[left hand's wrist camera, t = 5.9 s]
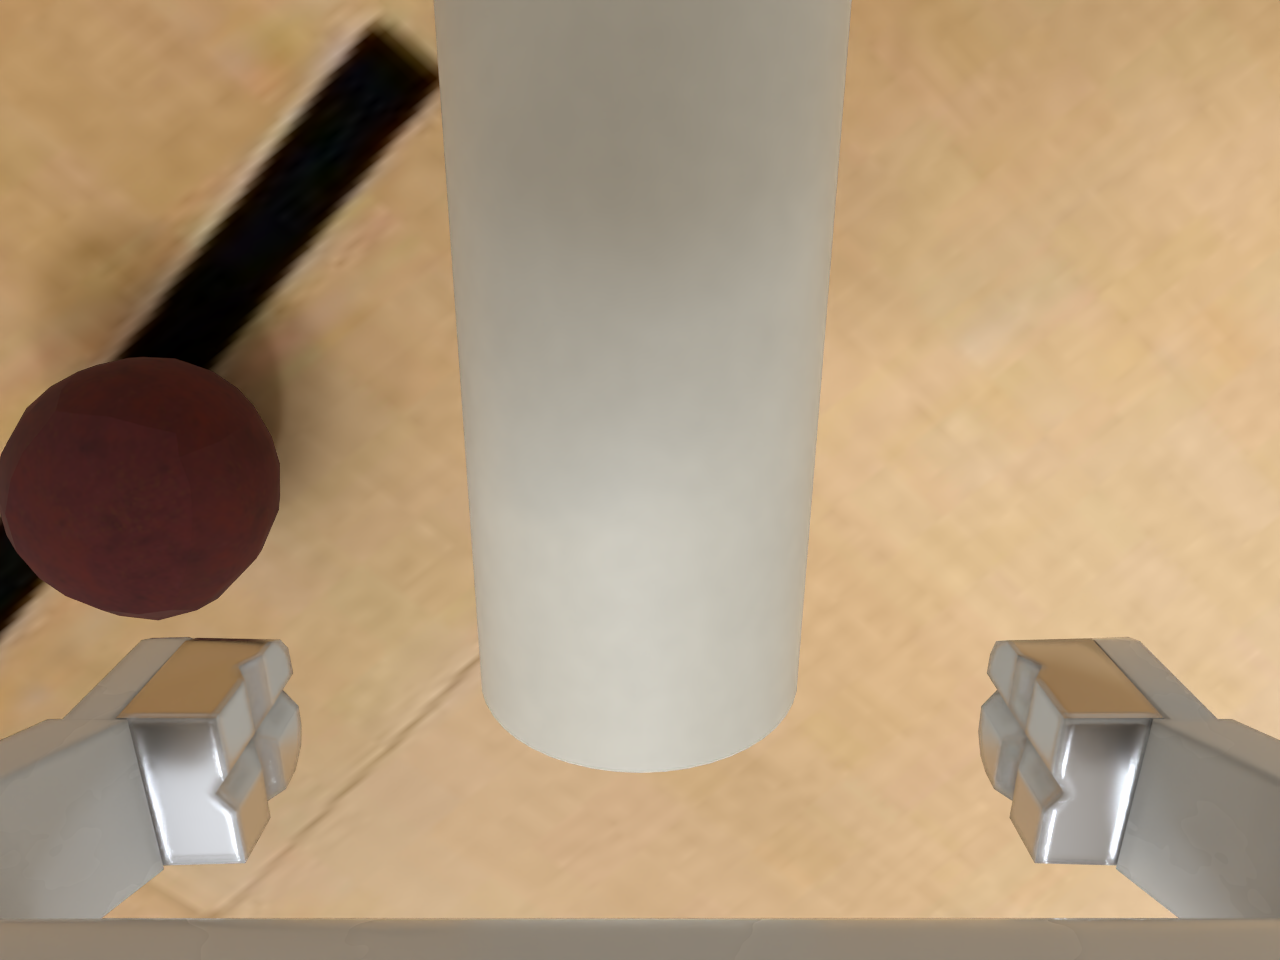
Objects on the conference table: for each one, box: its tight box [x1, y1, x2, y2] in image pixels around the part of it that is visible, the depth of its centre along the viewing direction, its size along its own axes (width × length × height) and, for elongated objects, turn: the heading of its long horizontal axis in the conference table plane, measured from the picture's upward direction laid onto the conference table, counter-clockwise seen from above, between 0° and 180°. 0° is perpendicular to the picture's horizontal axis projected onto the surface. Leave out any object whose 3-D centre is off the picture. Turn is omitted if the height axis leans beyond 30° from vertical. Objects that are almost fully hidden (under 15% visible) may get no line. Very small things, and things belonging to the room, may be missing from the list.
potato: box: [0, 357, 280, 620], centre depth 26 cm, size 7×8×7 cm
